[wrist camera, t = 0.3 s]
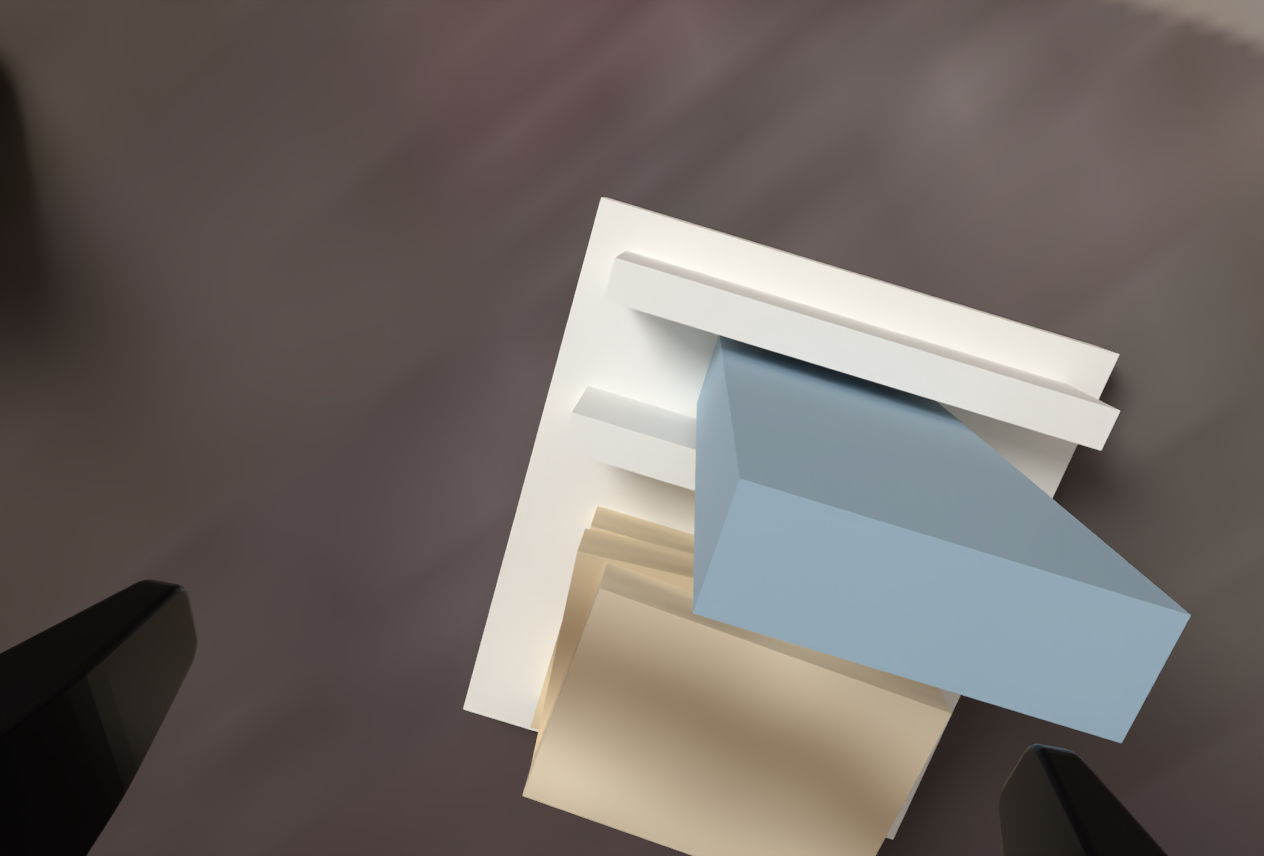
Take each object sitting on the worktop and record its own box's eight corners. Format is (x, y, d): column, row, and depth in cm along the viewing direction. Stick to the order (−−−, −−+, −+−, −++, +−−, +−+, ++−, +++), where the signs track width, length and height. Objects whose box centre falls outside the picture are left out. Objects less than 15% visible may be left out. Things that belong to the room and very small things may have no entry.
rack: (882, 806, 27) (917, 920, 23) (475, 682, 27) (433, 772, 23) (1093, 344, 23) (1185, 378, 19) (607, 197, 23) (585, 196, 19)
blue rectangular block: (906, 467, 23) (1122, 743, 11) (696, 403, 23) (693, 614, 11) (934, 399, 22) (1191, 615, 11) (719, 334, 22) (739, 478, 11)
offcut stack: (836, 793, 26) (864, 914, 21) (534, 702, 26) (500, 804, 21) (925, 587, 24) (976, 674, 19) (598, 488, 24) (575, 552, 19)
